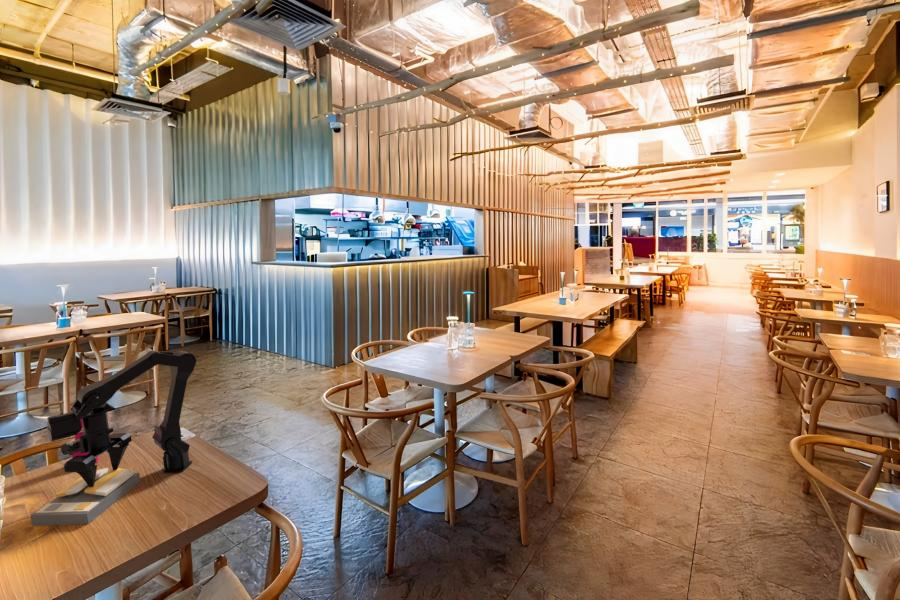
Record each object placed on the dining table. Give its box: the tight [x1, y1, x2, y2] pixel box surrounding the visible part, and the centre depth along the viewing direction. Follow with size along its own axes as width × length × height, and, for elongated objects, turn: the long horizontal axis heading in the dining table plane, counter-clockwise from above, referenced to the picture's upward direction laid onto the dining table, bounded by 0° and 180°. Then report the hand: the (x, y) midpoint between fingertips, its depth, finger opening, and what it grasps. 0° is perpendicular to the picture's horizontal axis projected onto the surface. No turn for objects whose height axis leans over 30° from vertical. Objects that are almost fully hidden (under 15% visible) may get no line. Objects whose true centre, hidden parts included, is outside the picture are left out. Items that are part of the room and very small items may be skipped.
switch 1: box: [55, 467, 110, 498], centre depth 130 cm, size 6×12×1 cm, turn 0°
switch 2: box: [84, 467, 136, 496], centre depth 130 cm, size 6×12×1 cm, turn 2°
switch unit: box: [30, 472, 141, 527], centre depth 127 cm, size 15×20×4 cm
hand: (103, 477), depth 130 cm, fingers open, 9 cm apart
